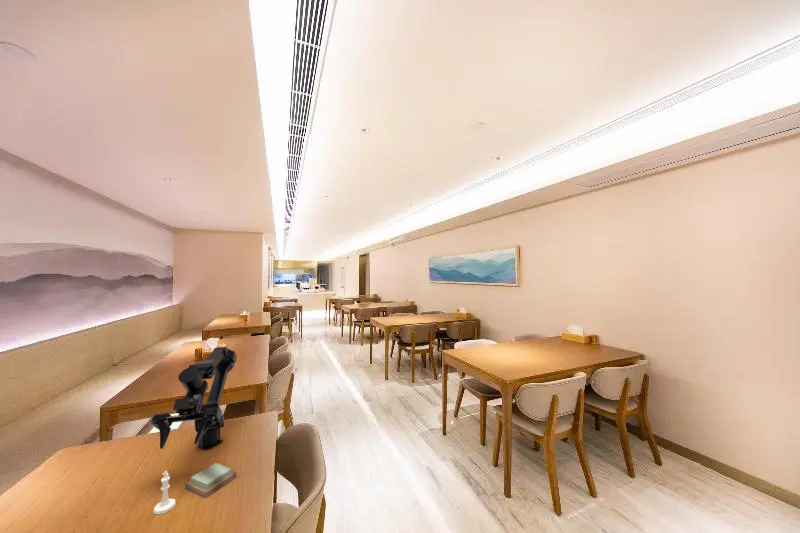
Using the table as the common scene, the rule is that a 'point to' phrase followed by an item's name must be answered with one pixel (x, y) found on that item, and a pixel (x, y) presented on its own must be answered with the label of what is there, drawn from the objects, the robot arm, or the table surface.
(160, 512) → the chess piece
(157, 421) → the robot arm
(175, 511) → the table surface
